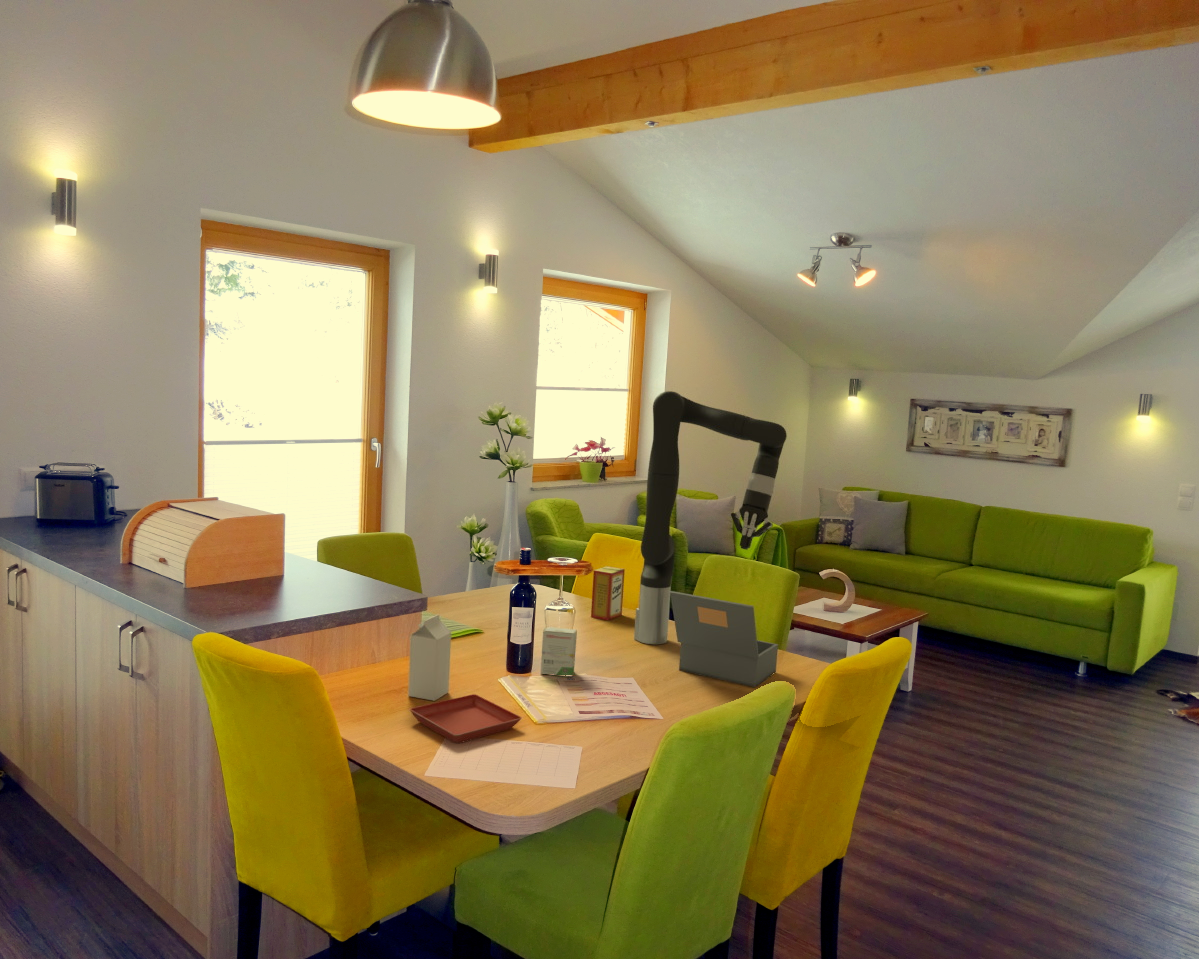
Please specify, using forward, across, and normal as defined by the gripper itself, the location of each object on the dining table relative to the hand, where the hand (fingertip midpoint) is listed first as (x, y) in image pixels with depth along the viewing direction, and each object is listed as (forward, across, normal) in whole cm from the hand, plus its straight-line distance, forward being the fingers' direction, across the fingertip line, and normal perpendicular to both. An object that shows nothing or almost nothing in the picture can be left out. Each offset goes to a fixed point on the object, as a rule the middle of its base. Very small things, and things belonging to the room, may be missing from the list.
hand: (744, 549), depth 269 cm
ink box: (+44, -26, -42) cm, 66 cm away
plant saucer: (+52, -21, -85) cm, 102 cm away
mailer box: (+33, +8, -11) cm, 36 cm away
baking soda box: (+34, -47, +18) cm, 61 cm away
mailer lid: (+20, +7, -25) cm, 33 cm away
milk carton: (+52, -40, -75) cm, 100 cm away
